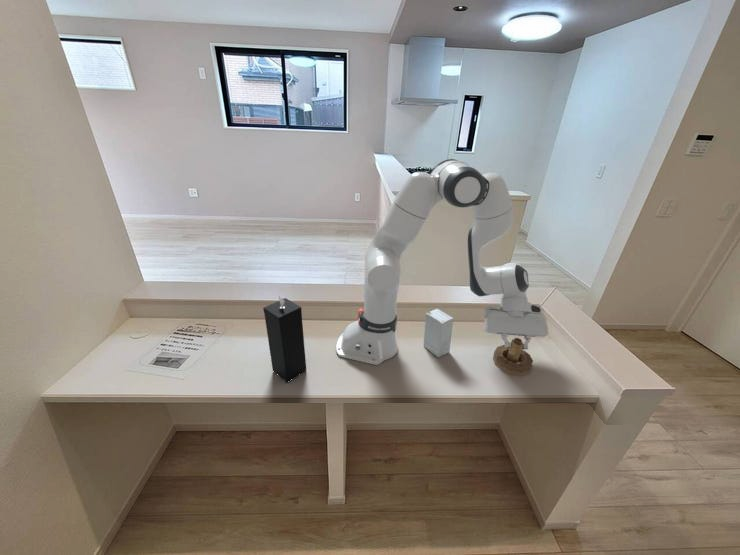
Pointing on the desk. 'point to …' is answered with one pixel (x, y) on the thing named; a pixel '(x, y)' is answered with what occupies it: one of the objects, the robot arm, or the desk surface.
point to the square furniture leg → (285, 338)
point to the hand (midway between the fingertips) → (516, 348)
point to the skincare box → (438, 332)
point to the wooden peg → (515, 350)
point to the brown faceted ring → (510, 366)
